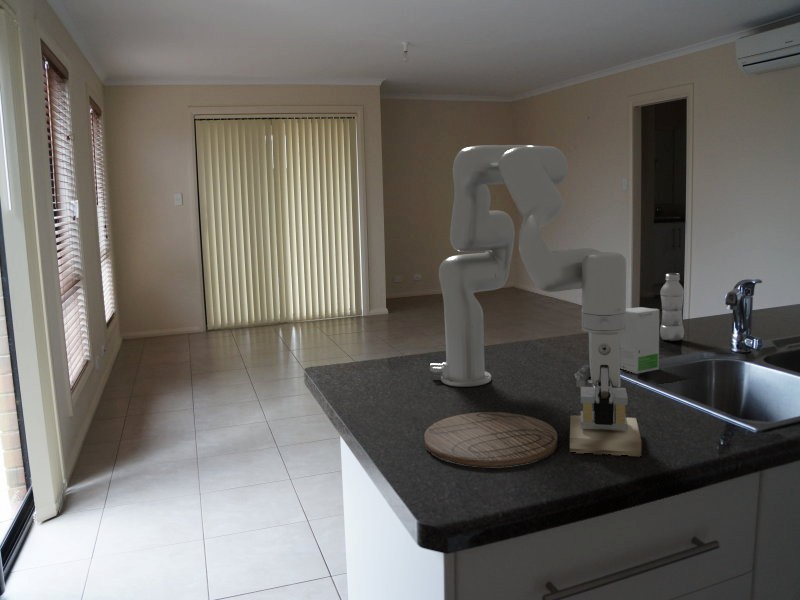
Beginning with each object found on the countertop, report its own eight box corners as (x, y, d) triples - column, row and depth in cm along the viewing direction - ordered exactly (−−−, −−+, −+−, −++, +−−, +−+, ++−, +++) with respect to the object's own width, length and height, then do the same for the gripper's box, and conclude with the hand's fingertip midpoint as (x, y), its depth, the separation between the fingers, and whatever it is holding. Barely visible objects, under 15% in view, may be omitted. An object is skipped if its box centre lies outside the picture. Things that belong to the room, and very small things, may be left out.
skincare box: (636, 374, 164) (636, 313, 162) (616, 369, 170) (616, 309, 168) (660, 369, 168) (661, 308, 166) (639, 364, 174) (640, 305, 171)
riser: (569, 453, 118) (569, 437, 118) (570, 430, 130) (570, 415, 129) (641, 457, 115) (641, 441, 114) (635, 432, 126) (635, 417, 126)
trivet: (403, 435, 132) (402, 426, 132) (509, 413, 142) (509, 404, 142) (465, 482, 110) (464, 471, 109) (586, 452, 120) (586, 442, 119)
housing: (627, 430, 118) (627, 398, 117) (580, 428, 120) (580, 396, 119) (625, 419, 124) (625, 388, 123) (580, 417, 126) (580, 386, 125)
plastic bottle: (687, 342, 194) (689, 274, 191) (664, 343, 194) (665, 275, 191) (678, 337, 200) (680, 272, 197) (656, 338, 201) (657, 273, 197)
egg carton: (604, 393, 152) (604, 375, 152) (571, 389, 156) (571, 372, 156) (615, 380, 161) (615, 364, 161) (584, 377, 165) (584, 361, 165)
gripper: (629, 332, 109) (628, 436, 112) (622, 312, 126) (622, 403, 129) (581, 331, 111) (582, 433, 114) (581, 312, 128) (581, 402, 131)
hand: (603, 416), depth 122 cm, fingers closed on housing, 6 cm apart
